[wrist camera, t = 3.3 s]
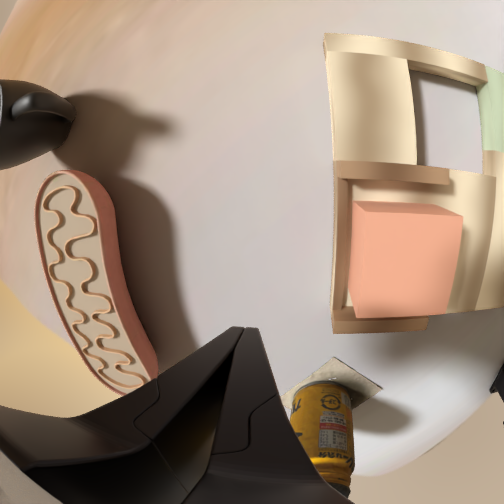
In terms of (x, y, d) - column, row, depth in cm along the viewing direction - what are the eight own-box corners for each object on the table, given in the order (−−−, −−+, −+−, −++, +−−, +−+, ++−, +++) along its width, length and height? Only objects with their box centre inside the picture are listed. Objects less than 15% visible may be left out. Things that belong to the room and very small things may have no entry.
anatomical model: (182, 375, 27) (164, 407, 22) (115, 363, 29) (94, 388, 25) (128, 154, 20) (88, 157, 16) (59, 179, 22) (23, 186, 18)
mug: (106, 155, 20) (19, 165, 12) (35, 164, 22) (-31, 177, 13) (114, 69, 18) (34, 47, 9) (40, 95, 20) (-25, 94, 11)
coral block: (434, 204, 15) (463, 216, 11) (424, 286, 17) (445, 313, 13) (352, 200, 16) (365, 211, 13) (348, 287, 18) (356, 318, 14)
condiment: (275, 399, 26) (254, 498, 15) (333, 355, 23) (337, 473, 11) (323, 425, 26) (318, 514, 15) (381, 387, 23) (398, 487, 12)
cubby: (435, 167, 14) (449, 168, 12) (417, 315, 18) (425, 329, 16) (336, 160, 16) (340, 160, 14) (331, 317, 19) (333, 333, 17)
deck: (534, 97, 10) (545, 95, 9) (522, 294, 17) (532, 302, 15) (323, 44, 15) (324, 33, 13) (329, 304, 21) (331, 317, 19)
